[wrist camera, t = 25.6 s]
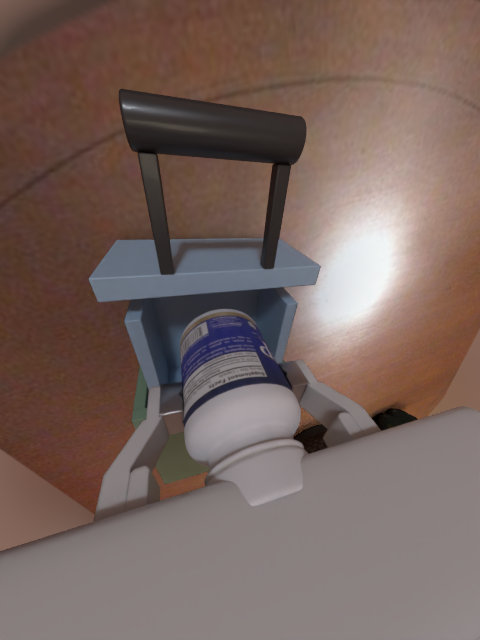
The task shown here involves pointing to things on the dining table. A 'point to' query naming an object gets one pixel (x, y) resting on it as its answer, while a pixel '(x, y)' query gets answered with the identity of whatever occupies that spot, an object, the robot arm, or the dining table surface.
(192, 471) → the green drawer cabinet
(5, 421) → the dining table surface
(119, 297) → the cabinet drawer
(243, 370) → the pill bottle
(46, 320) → the dining table surface
